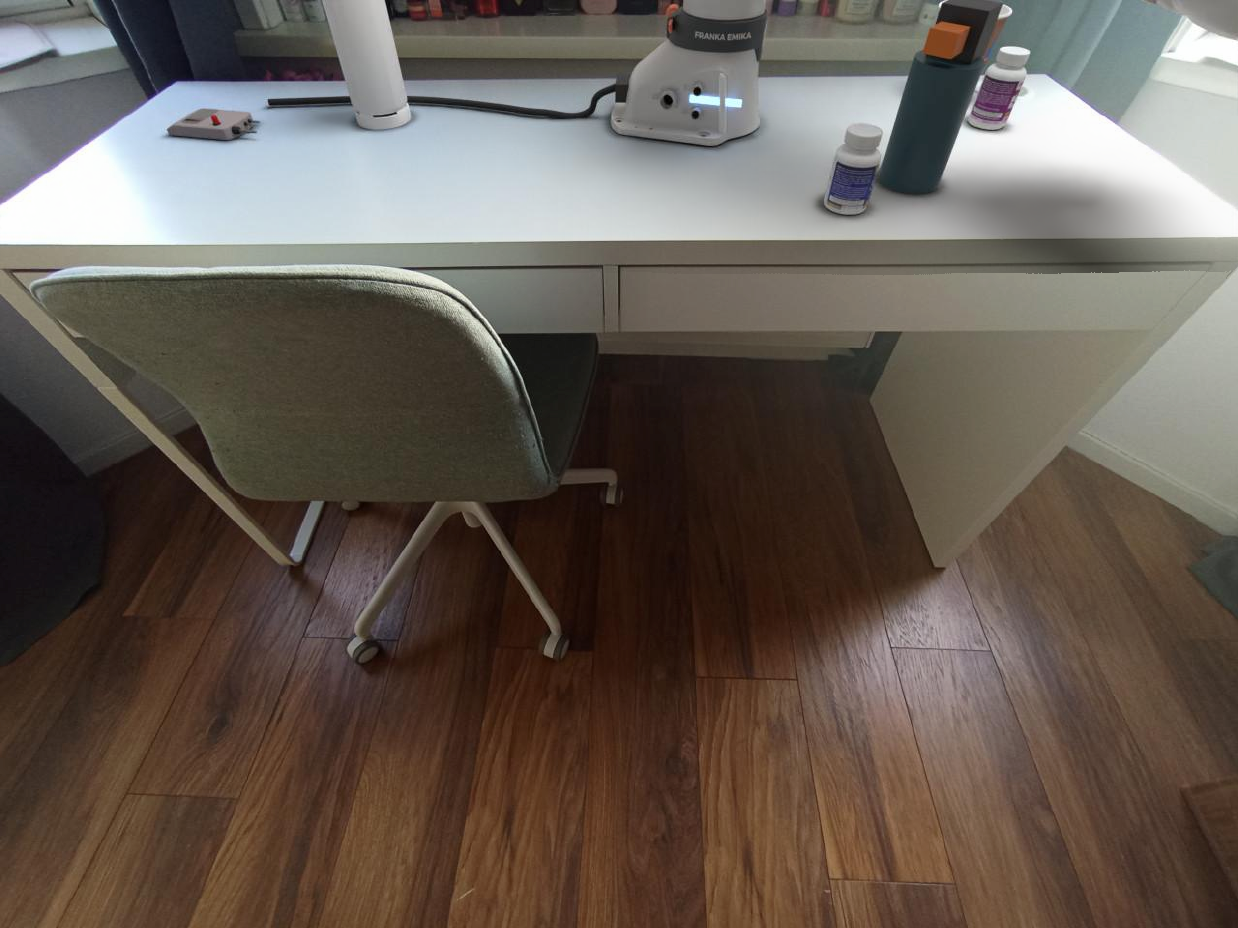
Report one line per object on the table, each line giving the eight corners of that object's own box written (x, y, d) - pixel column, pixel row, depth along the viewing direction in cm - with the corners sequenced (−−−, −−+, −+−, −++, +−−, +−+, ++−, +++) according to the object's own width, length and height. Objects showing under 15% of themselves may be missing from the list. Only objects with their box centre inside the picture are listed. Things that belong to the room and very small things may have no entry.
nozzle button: (950, 59, 68) (959, 33, 66) (921, 53, 70) (929, 28, 68) (961, 52, 70) (970, 26, 68) (933, 46, 71) (941, 21, 69)
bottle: (346, 125, 96) (269, -127, 75) (378, 106, 101) (315, -135, 80) (390, 133, 94) (324, -124, 73) (421, 113, 99) (368, -132, 78)
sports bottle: (924, 200, 79) (990, 20, 65) (867, 182, 83) (919, 7, 68) (947, 179, 83) (1014, 5, 69) (892, 163, 86) (946, -7, 72)
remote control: (187, 118, 98) (177, 96, 96) (279, 126, 96) (271, 104, 93) (158, 135, 93) (147, 113, 91) (253, 143, 91) (244, 121, 89)
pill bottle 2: (1008, 132, 93) (1040, 57, 86) (970, 129, 94) (999, 55, 87) (1001, 118, 97) (1031, 45, 90) (964, 116, 98) (991, 43, 90)
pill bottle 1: (872, 215, 77) (896, 138, 70) (830, 217, 76) (850, 140, 70) (858, 195, 80) (879, 120, 74) (817, 196, 80) (835, 121, 73)
